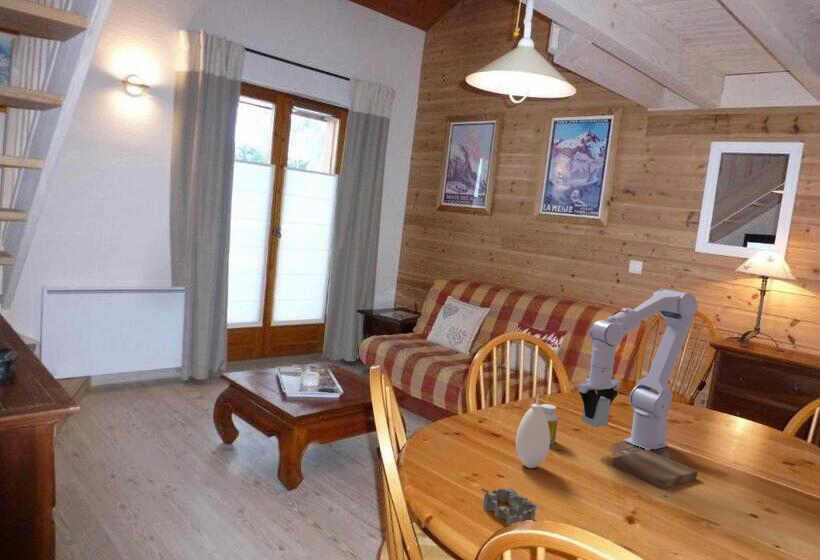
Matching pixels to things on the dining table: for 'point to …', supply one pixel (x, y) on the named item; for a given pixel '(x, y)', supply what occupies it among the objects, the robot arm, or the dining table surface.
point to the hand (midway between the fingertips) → (595, 416)
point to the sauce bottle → (533, 437)
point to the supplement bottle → (551, 420)
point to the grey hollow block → (514, 502)
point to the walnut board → (654, 469)
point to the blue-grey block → (599, 413)
